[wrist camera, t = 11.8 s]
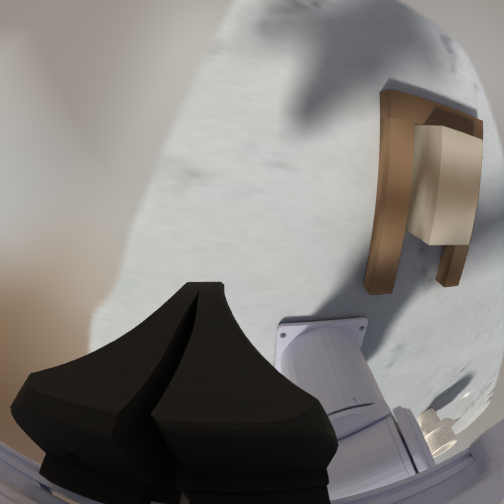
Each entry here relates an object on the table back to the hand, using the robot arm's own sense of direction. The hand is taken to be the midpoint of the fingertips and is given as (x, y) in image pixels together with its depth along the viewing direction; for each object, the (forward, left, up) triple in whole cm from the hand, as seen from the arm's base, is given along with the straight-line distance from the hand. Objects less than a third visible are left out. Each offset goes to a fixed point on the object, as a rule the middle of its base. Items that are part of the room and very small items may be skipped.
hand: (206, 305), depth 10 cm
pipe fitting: (-31, -30, -10) cm, 44 cm away
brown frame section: (+2, -16, -9) cm, 19 cm away
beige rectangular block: (+4, -16, -10) cm, 19 cm away
